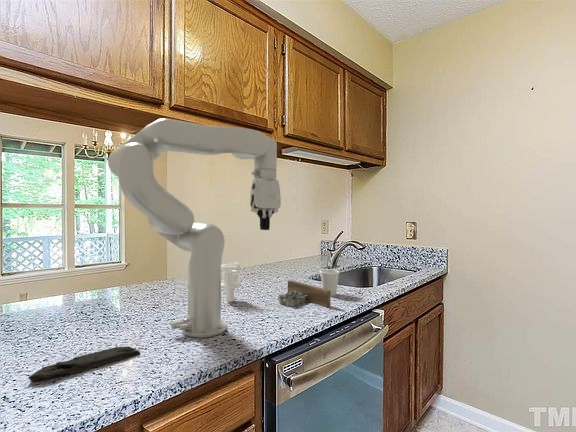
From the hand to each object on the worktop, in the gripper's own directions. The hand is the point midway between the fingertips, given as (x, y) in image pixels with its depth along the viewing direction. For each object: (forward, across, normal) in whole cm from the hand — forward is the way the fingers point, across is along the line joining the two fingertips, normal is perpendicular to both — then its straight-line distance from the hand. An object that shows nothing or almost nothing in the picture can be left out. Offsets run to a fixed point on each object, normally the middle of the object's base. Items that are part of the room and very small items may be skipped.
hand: (264, 229), depth 111 cm
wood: (+30, -52, -2) cm, 60 cm away
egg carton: (+30, +18, +5) cm, 35 cm away
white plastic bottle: (+29, 0, +22) cm, 37 cm away
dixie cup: (+29, +38, +4) cm, 48 cm away
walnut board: (+29, +24, +3) cm, 38 cm away
